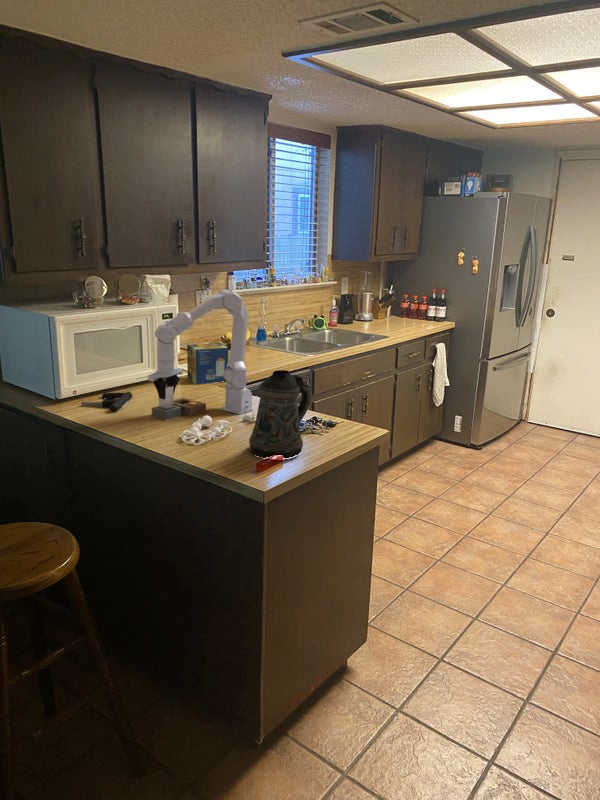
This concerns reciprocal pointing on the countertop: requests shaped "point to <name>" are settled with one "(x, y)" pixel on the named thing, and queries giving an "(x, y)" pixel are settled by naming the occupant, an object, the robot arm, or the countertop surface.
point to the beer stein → (280, 416)
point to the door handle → (112, 401)
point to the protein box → (206, 362)
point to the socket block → (188, 409)
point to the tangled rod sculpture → (206, 422)
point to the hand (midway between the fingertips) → (166, 397)
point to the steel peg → (167, 399)
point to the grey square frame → (166, 412)
